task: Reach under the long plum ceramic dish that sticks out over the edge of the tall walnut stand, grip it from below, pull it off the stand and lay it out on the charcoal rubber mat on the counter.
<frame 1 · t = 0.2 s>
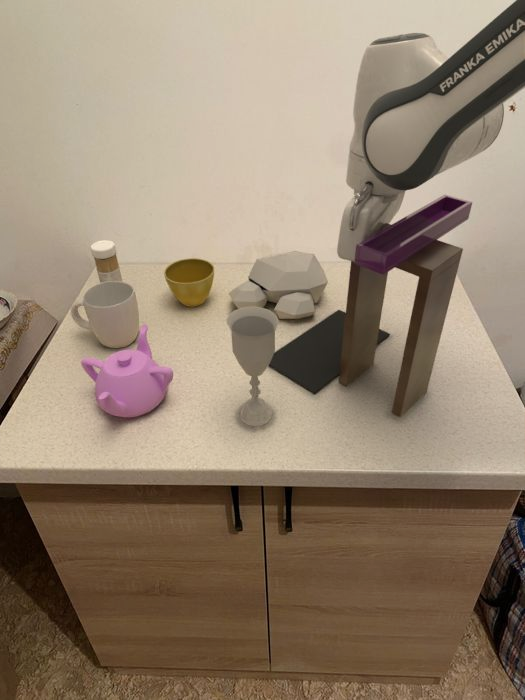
hand: (366, 260, 78), 19 cm above the countertop, tool pointing down, fingers open, 3 cm apart
rock: (278, 300, 105), on the countertop
chalice: (255, 415, 79), on the countertop
plum dish: (415, 239, 69), point 26 cm above the countertop, touching walnut stand
mug: (110, 338, 96), on the countertop
charcoal mat: (327, 348, 92), on the countertop
mustard yellow bowl: (192, 300, 106), on the countertop
walnut stand: (381, 387, 84), on the countertop
teapot: (133, 398, 83), on the countertop
sprinkles bottle: (116, 304, 105), on the countertop
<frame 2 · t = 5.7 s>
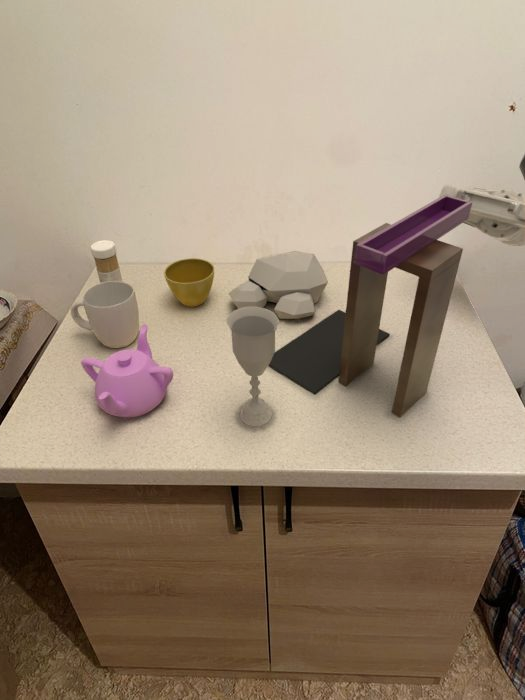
hand: (484, 200, 83), 24 cm above the countertop, tool pointing upward, fingers open, 8 cm apart
nothing on the countertop moved.
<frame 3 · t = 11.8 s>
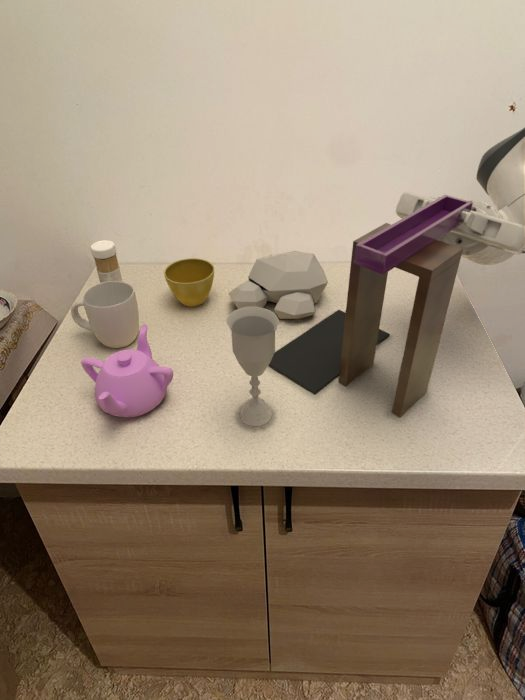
hand: (444, 211, 71), 28 cm above the countertop, tool pointing upward, fingers closed on plum dish, 4 cm apart
plum dish: (415, 239, 69), point 26 cm above the countertop, touching gripper, walnut stand
everything else where it was.
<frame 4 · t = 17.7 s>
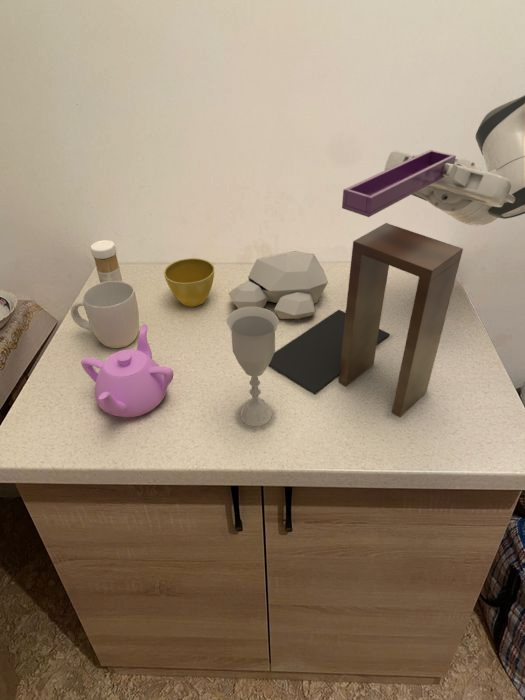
hand: (428, 164, 75), 32 cm above the countertop, tool pointing upward, fingers closed on plum dish, 4 cm apart
plum dish: (400, 189, 73), point 30 cm above the countertop, touching gripper
everything else where it was.
when the fingers open (17 cm above the countertop, at t = 23.9 s): plum dish drops 15 cm, resting on charcoal mat.
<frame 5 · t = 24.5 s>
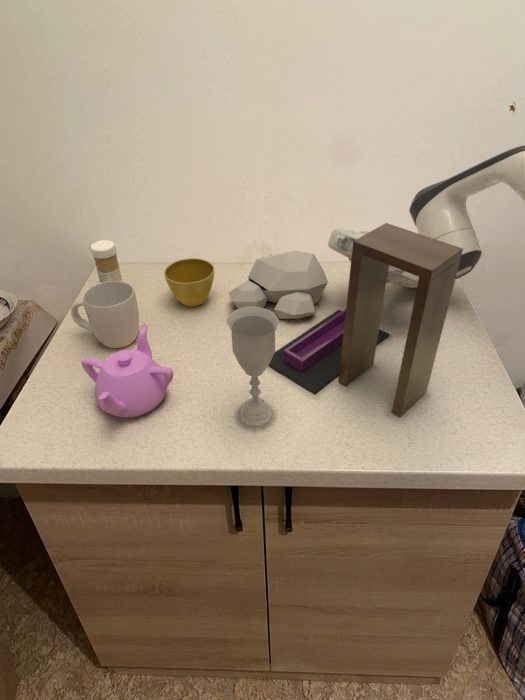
hand: (360, 249, 85), 17 cm above the countertop, tool pointing upward, fingers open, 8 cm apart
plum dish: (332, 339, 93), resting on charcoal mat
everything else where it was.
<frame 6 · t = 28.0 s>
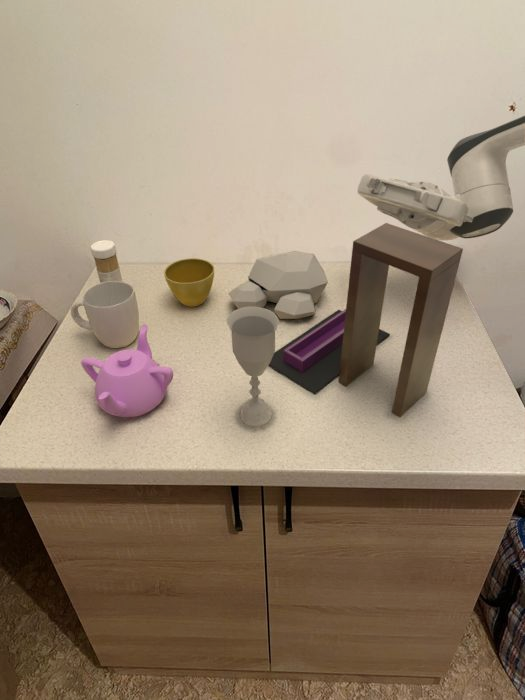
hand: (394, 188, 84), 26 cm above the countertop, tool pointing upward, fingers open, 8 cm apart
nothing on the countertop moved.
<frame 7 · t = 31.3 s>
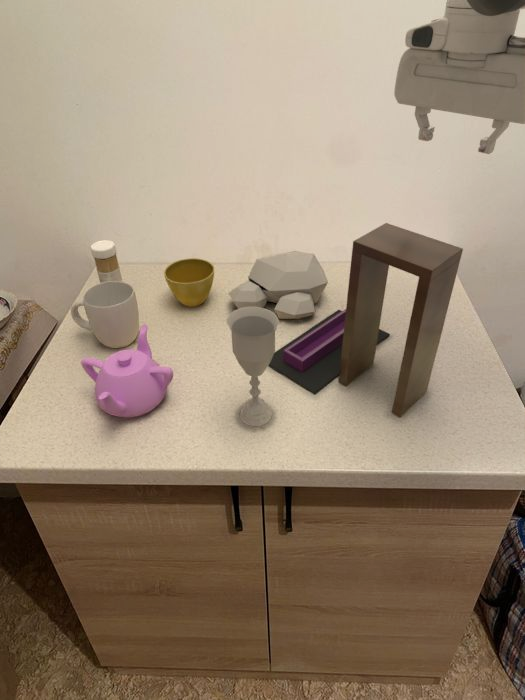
hand: (454, 146, 73), 35 cm above the countertop, tool pointing down, fingers open, 8 cm apart
nothing on the countertop moved.
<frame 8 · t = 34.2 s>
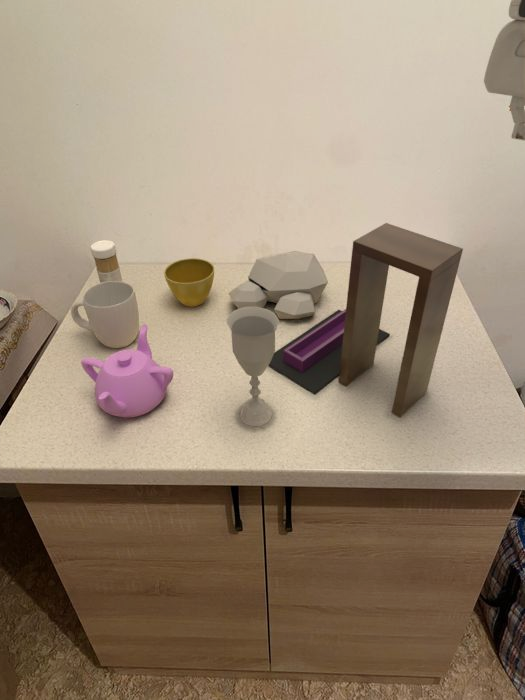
nothing on the countertop moved.
at the end: plum dish inside the target area on the charcoal mat (2.4 cm from its centre), point 0.5 cm above the charcoal mat's base; plum dish tilted 0°; plum dish touching charcoal mat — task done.
